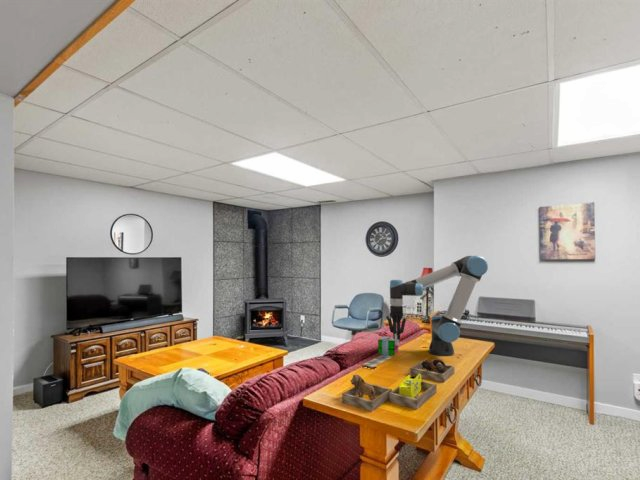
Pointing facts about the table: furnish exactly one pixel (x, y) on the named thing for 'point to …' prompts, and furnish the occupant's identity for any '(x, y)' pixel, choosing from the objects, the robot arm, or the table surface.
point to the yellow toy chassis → (410, 386)
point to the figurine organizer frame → (351, 399)
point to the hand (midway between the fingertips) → (396, 344)
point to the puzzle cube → (391, 346)
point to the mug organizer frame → (432, 375)
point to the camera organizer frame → (411, 402)
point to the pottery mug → (434, 366)
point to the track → (375, 362)
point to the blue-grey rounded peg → (385, 348)
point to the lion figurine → (362, 387)
